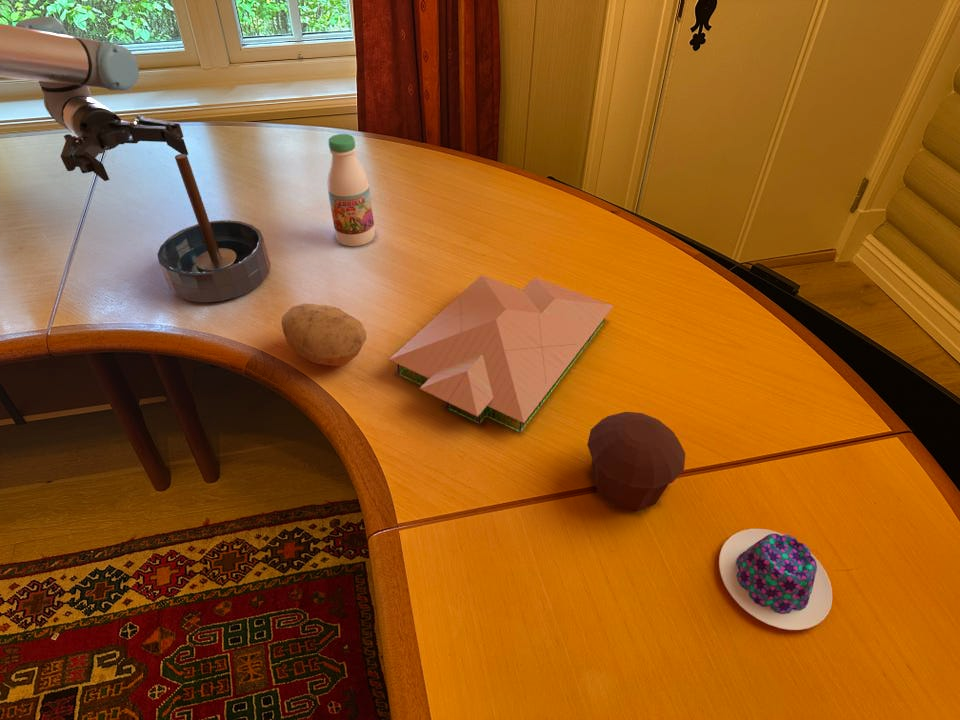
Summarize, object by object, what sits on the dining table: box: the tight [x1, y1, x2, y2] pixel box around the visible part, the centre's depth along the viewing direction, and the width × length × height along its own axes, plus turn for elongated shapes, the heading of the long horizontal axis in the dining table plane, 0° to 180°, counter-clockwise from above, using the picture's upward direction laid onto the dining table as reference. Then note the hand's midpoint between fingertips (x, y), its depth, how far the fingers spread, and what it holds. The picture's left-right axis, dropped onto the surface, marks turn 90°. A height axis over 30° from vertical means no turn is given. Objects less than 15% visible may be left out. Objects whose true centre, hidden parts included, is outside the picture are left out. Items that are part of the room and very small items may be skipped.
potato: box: [281, 303, 367, 367], centre depth 92 cm, size 10×14×8 cm
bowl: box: [157, 219, 272, 303], centre depth 108 cm, size 17×17×6 cm
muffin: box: [586, 411, 686, 512], centre depth 75 cm, size 12×11×10 cm
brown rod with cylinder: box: [174, 153, 239, 272], centre depth 102 cm, size 7×7×22 cm
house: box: [388, 274, 615, 433], centre depth 93 cm, size 23×33×8 cm
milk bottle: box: [326, 133, 376, 247], centre depth 113 cm, size 8×8×20 cm
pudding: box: [718, 528, 833, 631], centre depth 67 cm, size 12×12×5 cm
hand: (145, 159), depth 101 cm, fingers open, 13 cm apart
